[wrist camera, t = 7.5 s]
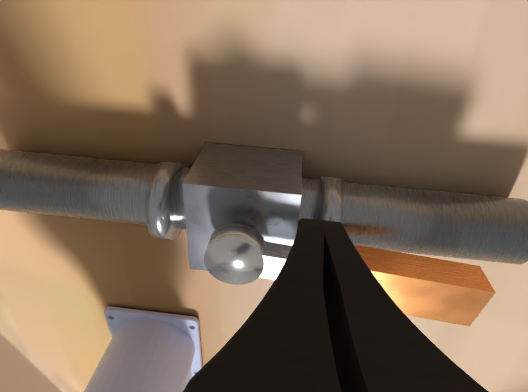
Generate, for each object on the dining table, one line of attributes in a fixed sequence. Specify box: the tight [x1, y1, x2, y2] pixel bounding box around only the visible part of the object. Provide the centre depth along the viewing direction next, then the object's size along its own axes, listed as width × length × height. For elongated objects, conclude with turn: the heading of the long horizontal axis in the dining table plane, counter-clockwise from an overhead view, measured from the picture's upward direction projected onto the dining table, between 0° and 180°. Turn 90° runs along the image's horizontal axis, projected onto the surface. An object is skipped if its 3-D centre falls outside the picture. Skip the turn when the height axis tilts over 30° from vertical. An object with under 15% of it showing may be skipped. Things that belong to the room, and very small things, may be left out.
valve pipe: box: [0, 142, 528, 271], centre depth 19 cm, size 6×30×5 cm, turn 87°
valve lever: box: [204, 223, 495, 326], centre depth 17 cm, size 13×3×2 cm, turn 82°
